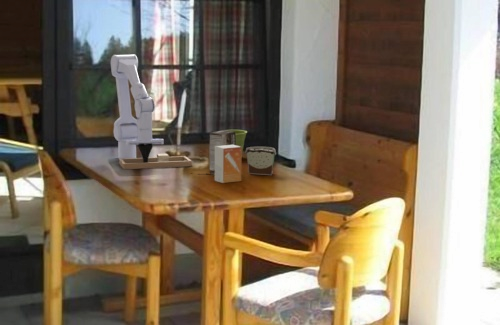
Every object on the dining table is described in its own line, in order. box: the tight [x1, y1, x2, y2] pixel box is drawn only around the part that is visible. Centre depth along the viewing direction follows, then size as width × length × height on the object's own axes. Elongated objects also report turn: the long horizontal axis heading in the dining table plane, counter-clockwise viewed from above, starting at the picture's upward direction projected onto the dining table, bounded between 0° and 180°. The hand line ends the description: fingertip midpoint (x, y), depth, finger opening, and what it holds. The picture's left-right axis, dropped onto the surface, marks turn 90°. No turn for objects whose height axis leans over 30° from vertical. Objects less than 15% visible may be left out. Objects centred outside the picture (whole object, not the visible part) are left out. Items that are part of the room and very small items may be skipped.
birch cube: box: [156, 153, 170, 162], centre depth 357 cm, size 4×4×4 cm
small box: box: [214, 145, 242, 184], centre depth 332 cm, size 8×6×13 cm
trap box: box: [118, 155, 193, 170], centre depth 357 cm, size 12×27×4 cm, turn 106°
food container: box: [244, 146, 277, 176], centre depth 348 cm, size 12×6×10 cm, turn 71°
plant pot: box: [226, 129, 248, 158], centre depth 382 cm, size 12×12×11 cm
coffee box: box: [208, 129, 236, 175], centre depth 347 cm, size 9×6×16 cm
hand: (145, 162), depth 356 cm, fingers closed
